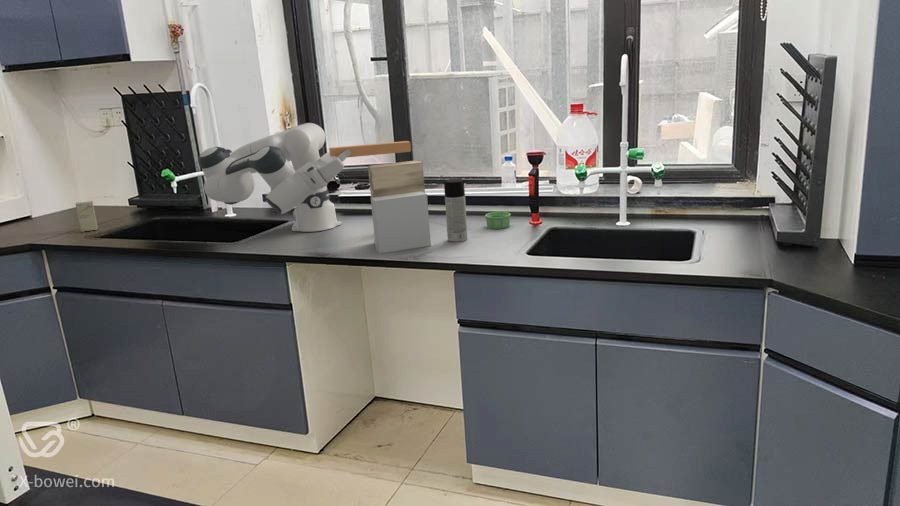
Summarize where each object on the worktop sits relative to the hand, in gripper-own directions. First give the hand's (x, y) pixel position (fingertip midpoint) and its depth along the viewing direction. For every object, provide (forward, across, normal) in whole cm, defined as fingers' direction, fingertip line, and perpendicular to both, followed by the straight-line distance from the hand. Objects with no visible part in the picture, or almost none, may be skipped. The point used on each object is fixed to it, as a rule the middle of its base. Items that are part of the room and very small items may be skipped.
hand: (348, 150), depth 208 cm
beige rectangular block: (-3, 0, -35) cm, 35 cm away
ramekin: (+27, 0, -53) cm, 60 cm away
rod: (+5, 0, -6) cm, 8 cm away
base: (-5, +9, -34) cm, 36 cm away
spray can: (+11, +10, -44) cm, 46 cm away
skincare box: (-98, -93, +20) cm, 137 cm away
